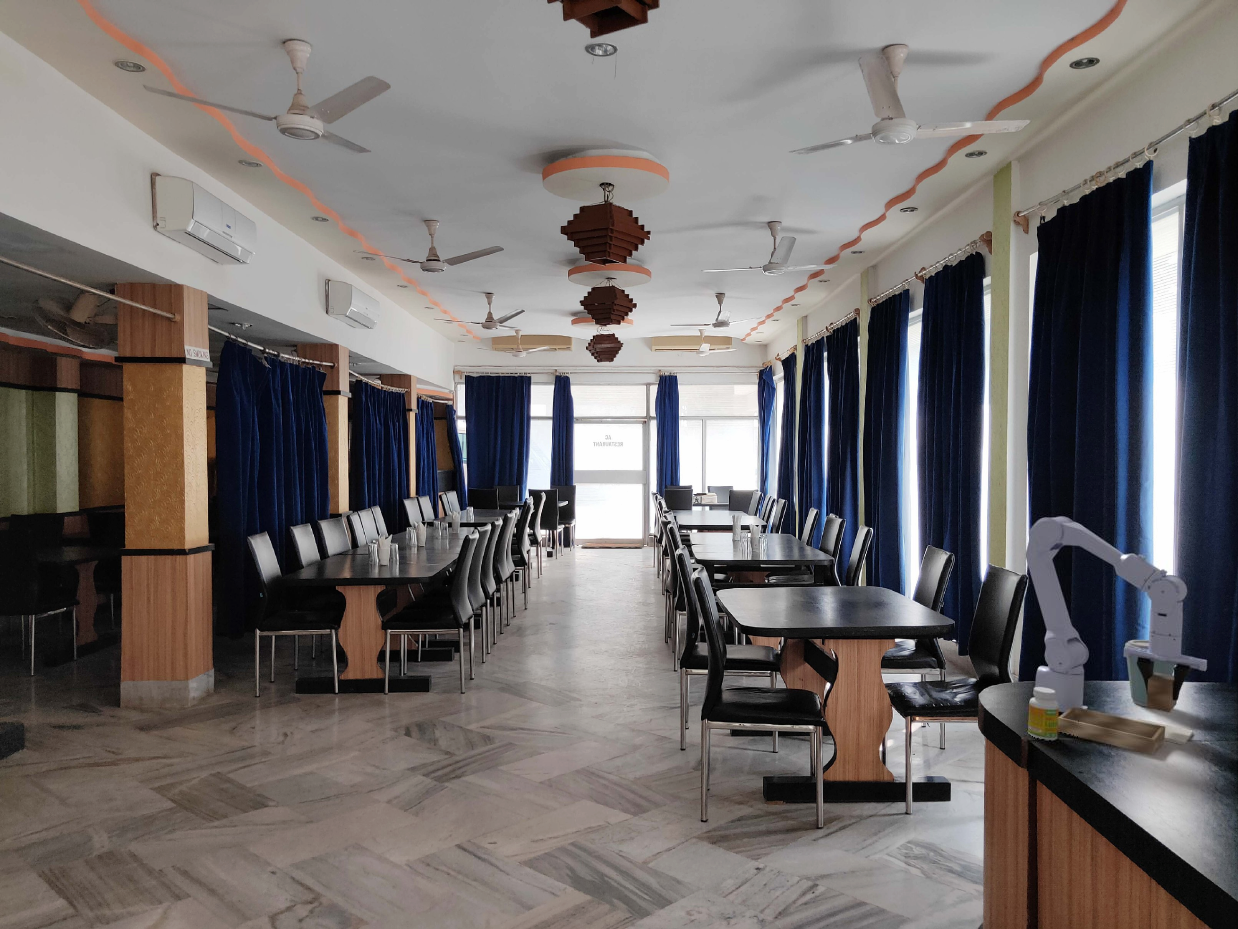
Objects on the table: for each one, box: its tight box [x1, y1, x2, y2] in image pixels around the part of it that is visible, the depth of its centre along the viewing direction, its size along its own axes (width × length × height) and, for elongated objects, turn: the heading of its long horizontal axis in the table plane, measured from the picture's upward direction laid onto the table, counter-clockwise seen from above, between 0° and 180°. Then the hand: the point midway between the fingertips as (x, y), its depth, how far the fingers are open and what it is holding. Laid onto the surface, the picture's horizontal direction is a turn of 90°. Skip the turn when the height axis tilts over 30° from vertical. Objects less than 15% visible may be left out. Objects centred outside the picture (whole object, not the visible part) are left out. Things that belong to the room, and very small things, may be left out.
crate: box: [1058, 706, 1166, 756], centre depth 169 cm, size 17×11×3 cm, turn 47°
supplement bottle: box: [1027, 687, 1059, 741], centre depth 167 cm, size 5×5×10 cm
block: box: [1146, 673, 1178, 713], centre depth 172 cm, size 4×8×6 cm, turn 137°
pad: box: [1136, 718, 1194, 746], centre depth 172 cm, size 10×10×1 cm
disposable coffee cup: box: [1124, 639, 1176, 708], centre depth 192 cm, size 11×11×15 cm
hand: (1162, 697), depth 172 cm, fingers closed on block, 4 cm apart
